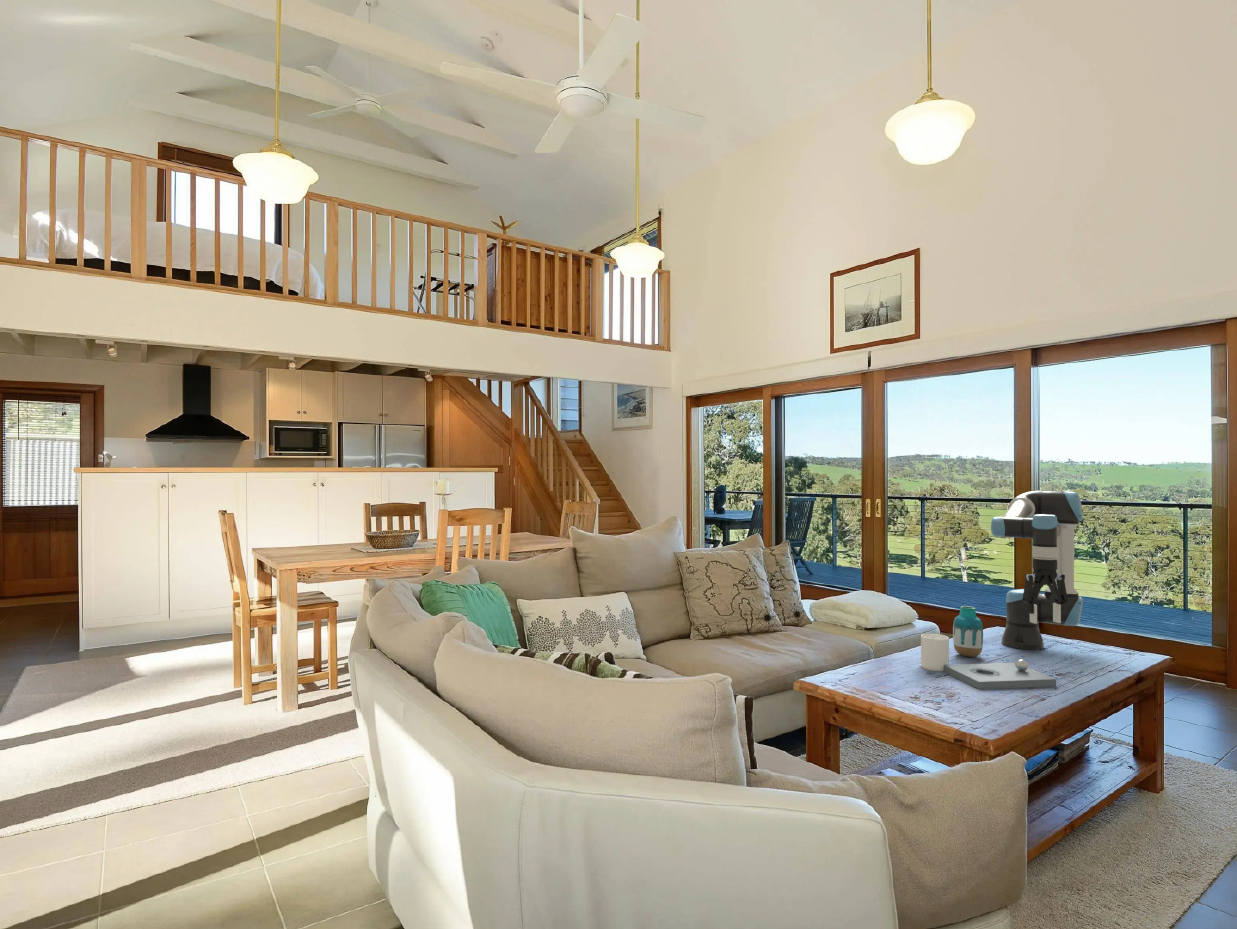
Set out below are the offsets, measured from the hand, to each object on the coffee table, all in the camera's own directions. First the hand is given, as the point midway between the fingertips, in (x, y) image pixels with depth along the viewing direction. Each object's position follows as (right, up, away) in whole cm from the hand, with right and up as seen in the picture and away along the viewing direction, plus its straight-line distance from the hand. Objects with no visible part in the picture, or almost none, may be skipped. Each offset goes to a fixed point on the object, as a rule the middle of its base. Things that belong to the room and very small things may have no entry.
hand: (1045, 622), depth 242 cm
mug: (-35, -20, +12) cm, 42 cm away
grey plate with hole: (-18, -19, -2) cm, 26 cm away
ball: (-9, -15, -1) cm, 17 cm away
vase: (-13, -20, +27) cm, 36 cm away
